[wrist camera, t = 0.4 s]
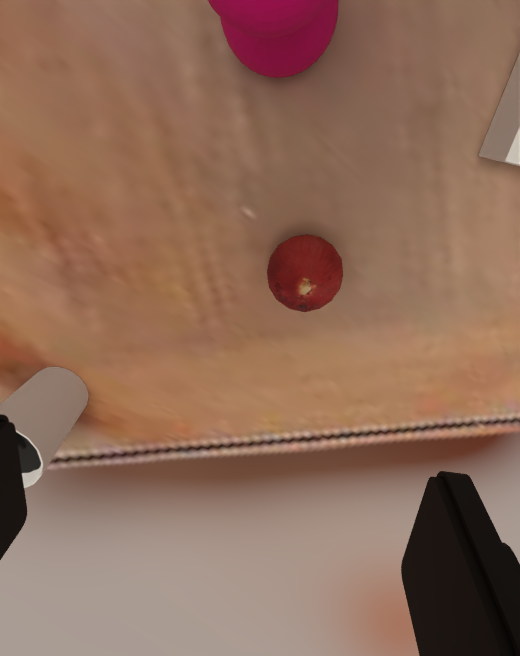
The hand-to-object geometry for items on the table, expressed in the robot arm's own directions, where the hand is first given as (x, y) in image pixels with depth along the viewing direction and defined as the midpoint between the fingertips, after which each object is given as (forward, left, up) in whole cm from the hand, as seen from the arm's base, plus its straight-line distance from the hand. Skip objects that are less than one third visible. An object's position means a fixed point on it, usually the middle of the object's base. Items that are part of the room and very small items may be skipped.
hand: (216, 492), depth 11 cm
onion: (+2, +3, -31) cm, 31 cm away
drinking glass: (+21, -17, -31) cm, 41 cm away
